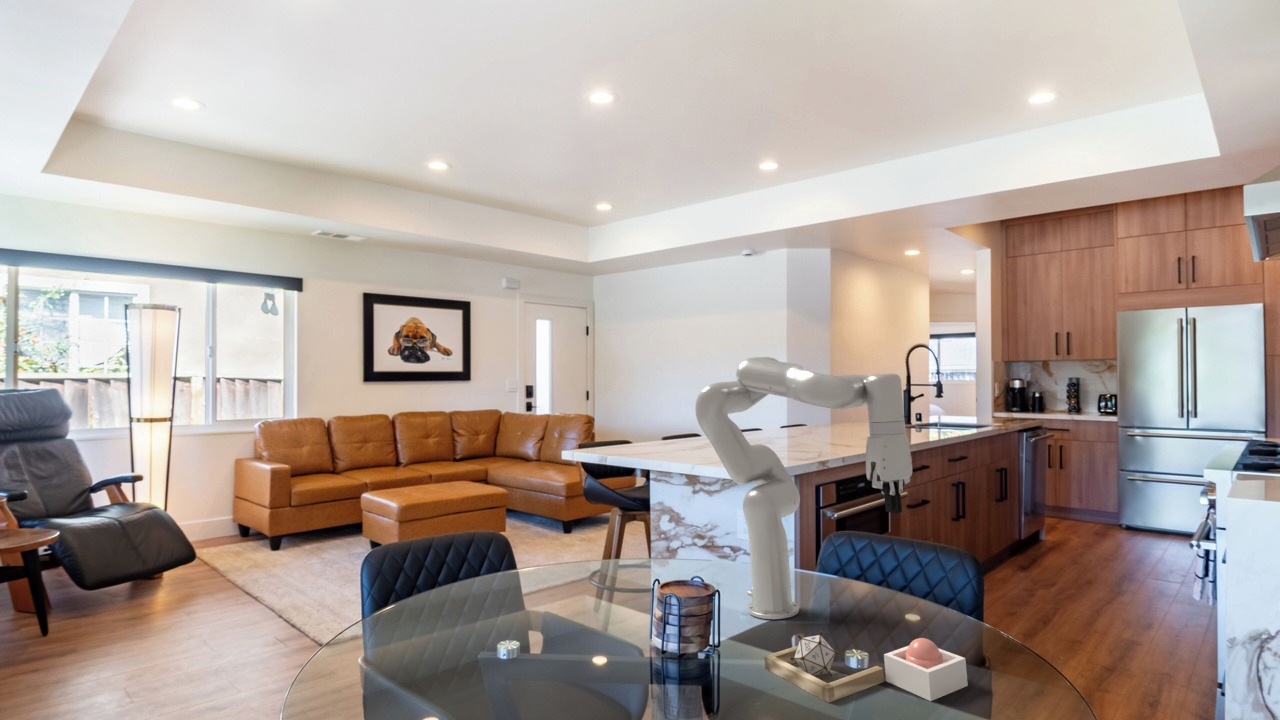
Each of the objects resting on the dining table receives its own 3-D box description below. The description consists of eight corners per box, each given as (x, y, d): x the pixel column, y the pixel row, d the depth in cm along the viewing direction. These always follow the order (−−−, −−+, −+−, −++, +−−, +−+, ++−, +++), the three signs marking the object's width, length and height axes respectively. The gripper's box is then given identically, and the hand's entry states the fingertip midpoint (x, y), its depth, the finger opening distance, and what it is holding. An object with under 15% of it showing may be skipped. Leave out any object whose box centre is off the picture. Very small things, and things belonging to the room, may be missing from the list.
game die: (826, 698, 131) (839, 669, 125) (783, 680, 133) (793, 650, 127) (833, 659, 138) (846, 630, 132) (792, 643, 140) (803, 613, 134)
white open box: (886, 681, 128) (883, 654, 128) (922, 667, 133) (920, 641, 133) (930, 701, 119) (928, 672, 120) (967, 685, 124) (965, 658, 124)
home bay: (765, 668, 137) (764, 656, 137) (817, 651, 144) (816, 639, 144) (828, 702, 121) (827, 688, 121) (884, 681, 128) (883, 668, 128)
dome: (899, 669, 128) (896, 638, 128) (922, 660, 131) (920, 630, 131) (927, 681, 122) (925, 648, 122) (951, 671, 125) (948, 640, 125)
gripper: (897, 425, 157) (903, 505, 157) (849, 432, 150) (856, 515, 150) (924, 426, 151) (931, 509, 150) (876, 433, 144) (883, 520, 143)
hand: (893, 511), depth 150 cm, fingers closed
